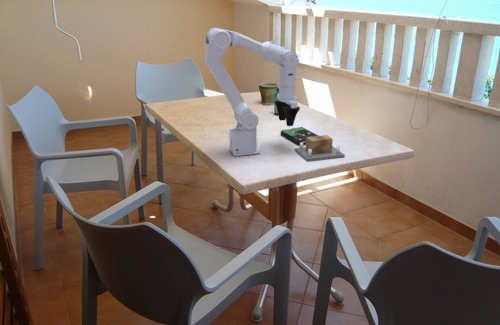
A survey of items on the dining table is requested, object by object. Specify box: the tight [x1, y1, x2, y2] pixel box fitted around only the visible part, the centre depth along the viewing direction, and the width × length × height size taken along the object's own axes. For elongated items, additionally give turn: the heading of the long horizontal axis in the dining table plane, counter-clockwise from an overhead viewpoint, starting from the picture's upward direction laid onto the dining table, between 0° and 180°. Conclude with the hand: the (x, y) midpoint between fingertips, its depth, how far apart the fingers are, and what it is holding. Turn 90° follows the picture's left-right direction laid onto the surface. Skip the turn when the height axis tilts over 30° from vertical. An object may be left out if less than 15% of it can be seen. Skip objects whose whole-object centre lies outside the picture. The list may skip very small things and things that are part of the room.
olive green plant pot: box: [258, 82, 279, 106], centre depth 215 cm, size 13×10×10 cm
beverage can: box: [273, 87, 279, 116], centre depth 194 cm, size 7×7×12 cm
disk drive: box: [280, 126, 320, 147], centre depth 162 cm, size 10×3×15 cm
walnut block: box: [305, 134, 334, 155], centre depth 145 cm, size 8×4×5 cm, turn 107°
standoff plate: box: [294, 142, 346, 162], centre depth 146 cm, size 14×11×4 cm
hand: (286, 122), depth 150 cm, fingers open, 7 cm apart
